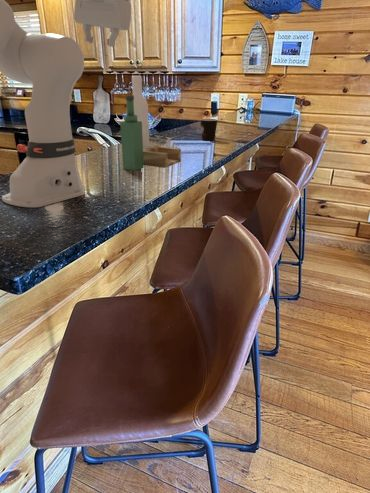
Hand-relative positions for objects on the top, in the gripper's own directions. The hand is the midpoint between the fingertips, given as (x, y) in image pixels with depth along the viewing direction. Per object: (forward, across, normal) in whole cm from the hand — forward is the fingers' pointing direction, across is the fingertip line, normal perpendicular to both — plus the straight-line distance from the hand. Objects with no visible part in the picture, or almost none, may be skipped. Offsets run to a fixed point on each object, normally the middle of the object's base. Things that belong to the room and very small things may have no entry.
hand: (99, 44), depth 106 cm
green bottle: (+37, +7, +13) cm, 40 cm away
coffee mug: (+33, -7, +82) cm, 89 cm away
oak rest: (+35, +9, +25) cm, 44 cm away
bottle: (+37, -6, +30) cm, 48 cm away
